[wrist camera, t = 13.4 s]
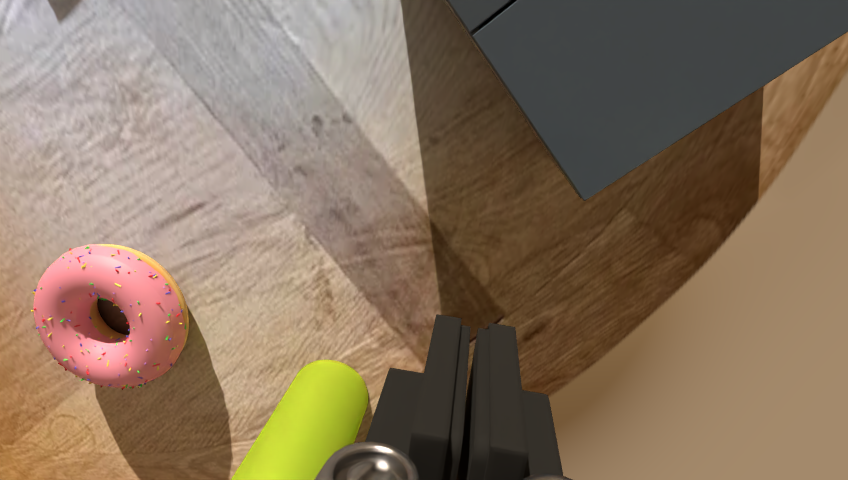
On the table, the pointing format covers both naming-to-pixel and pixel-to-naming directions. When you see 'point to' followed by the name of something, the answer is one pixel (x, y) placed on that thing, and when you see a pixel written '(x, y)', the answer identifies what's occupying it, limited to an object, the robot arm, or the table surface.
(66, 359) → the doughnut
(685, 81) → the flap
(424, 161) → the table surface
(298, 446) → the soap dispenser
